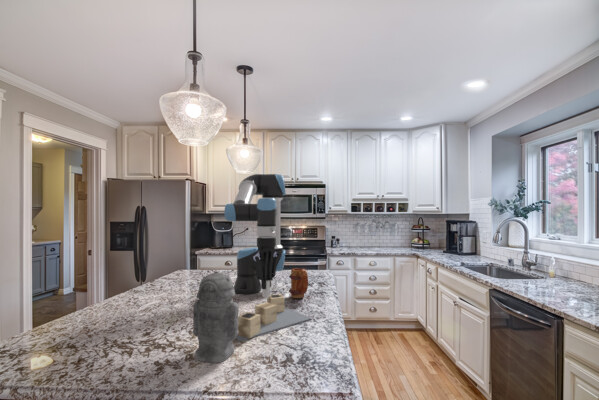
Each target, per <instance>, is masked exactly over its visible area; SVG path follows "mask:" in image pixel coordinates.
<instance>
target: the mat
mask: <svg viewBox="0 0 599 400" xmlns="http://www.w3.org/2000/svg"><path fill="white" fill-rule="evenodd" d="M308 321H312V317H310V316H307V315H305V314H303V313H300V312H298V311H297V310H294V309H291V308H288V307H286V306H284V312H277V321H275V322H272V323H269V324H267V325H264V324H261V323H260V332H259V333H257V334H256V335H254V336H253V337H251V338H248V337H244V336H239V335H237V337H236V338H235V339H234V340H237V341H238V342H243V341H246V340H249V339H253V338H257V337H259V336H262V335H268V334H269V333H272V332H276V331H279V330H282V329H286V328H289V327H292V326H296V325H300V324H302V323H305V322H308Z"/></svg>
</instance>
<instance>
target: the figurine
mask: <svg viewBox="0 0 599 400" xmlns="http://www.w3.org/2000/svg"><path fill="white" fill-rule="evenodd" d="M198 286H199V287H198V291H197V294H196V298H197V300H196V301H195V302H194V303H193V311H192V312H193V313H192V314H193V316H192V317H193V321H192V328H193V329H192V334H193V335H194V336H195V337H196V338H197V340H198V348H196V350H195V352H194V354H195V355H194V356H195V359H196V360H197V361H199V362H206V363H214V364H215V363H221V362H224V361H226V360H228V359H229V358H230V357H231V356H232V354H234V353H235V345H234V344H233V341H235V340H236V339H235V338H236V337H237V335H238V332H239V331H238V316H239V312H240V311H239V309H240V307H239V304H238V303H237V302H235V301H234V300H233V297H234V296H236V293H235V291H234V283H233V280H232V278H231V277H230V276H229V275H228V274H226V273H223V272H222V273H221V272H219V271H217V270H215V271H214V272H213V273H210V274H207V275H205V276H203V277H202V279H201V281H200V283H199V285H198Z"/></svg>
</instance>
